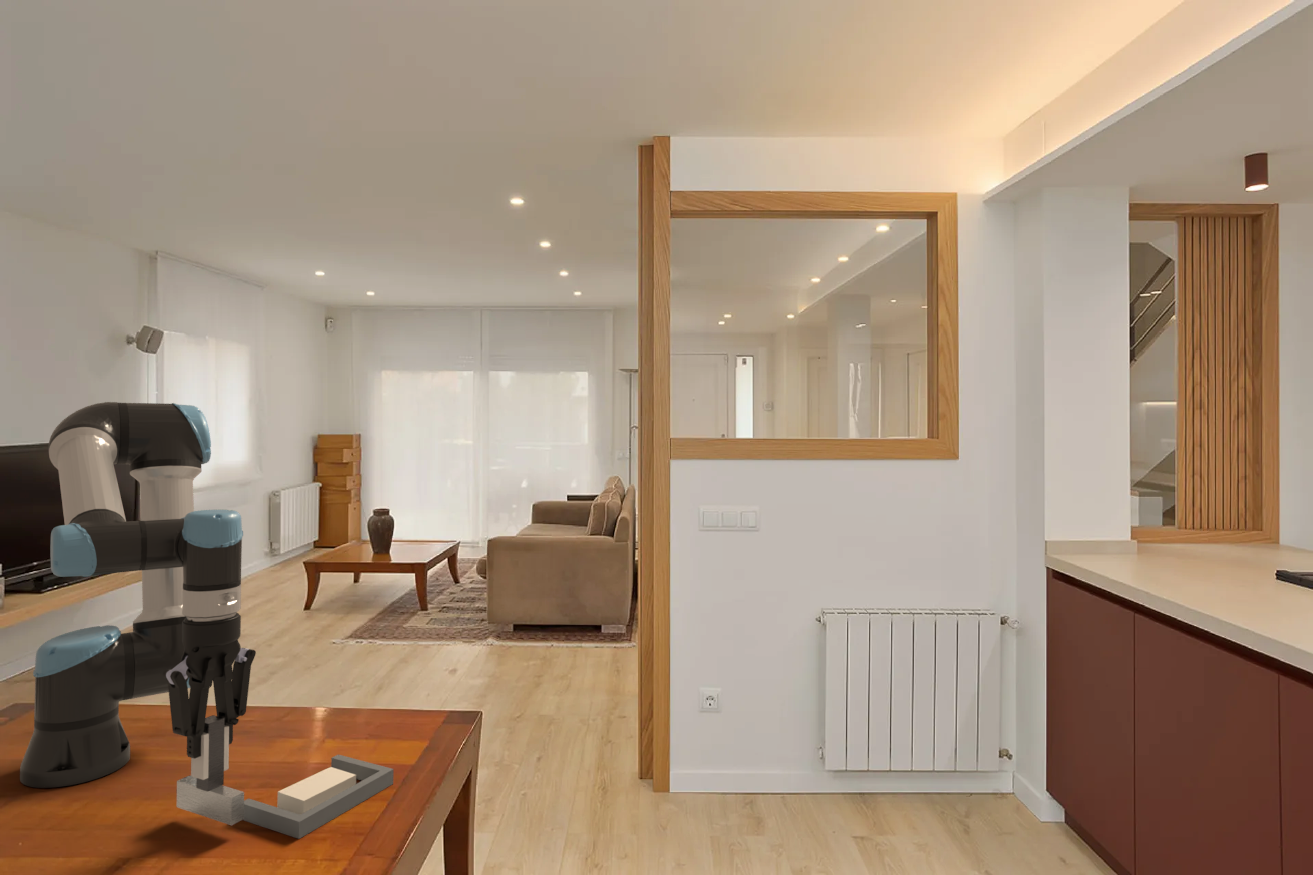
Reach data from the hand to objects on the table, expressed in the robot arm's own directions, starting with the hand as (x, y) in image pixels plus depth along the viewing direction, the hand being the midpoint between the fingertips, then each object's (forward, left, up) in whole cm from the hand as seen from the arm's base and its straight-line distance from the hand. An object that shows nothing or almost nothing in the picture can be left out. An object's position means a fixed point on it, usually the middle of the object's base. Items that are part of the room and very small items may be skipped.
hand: (209, 772), depth 113 cm
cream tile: (+7, +13, -9) cm, 17 cm away
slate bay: (+8, +13, -8) cm, 17 cm away
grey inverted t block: (0, 0, -6) cm, 6 cm away
